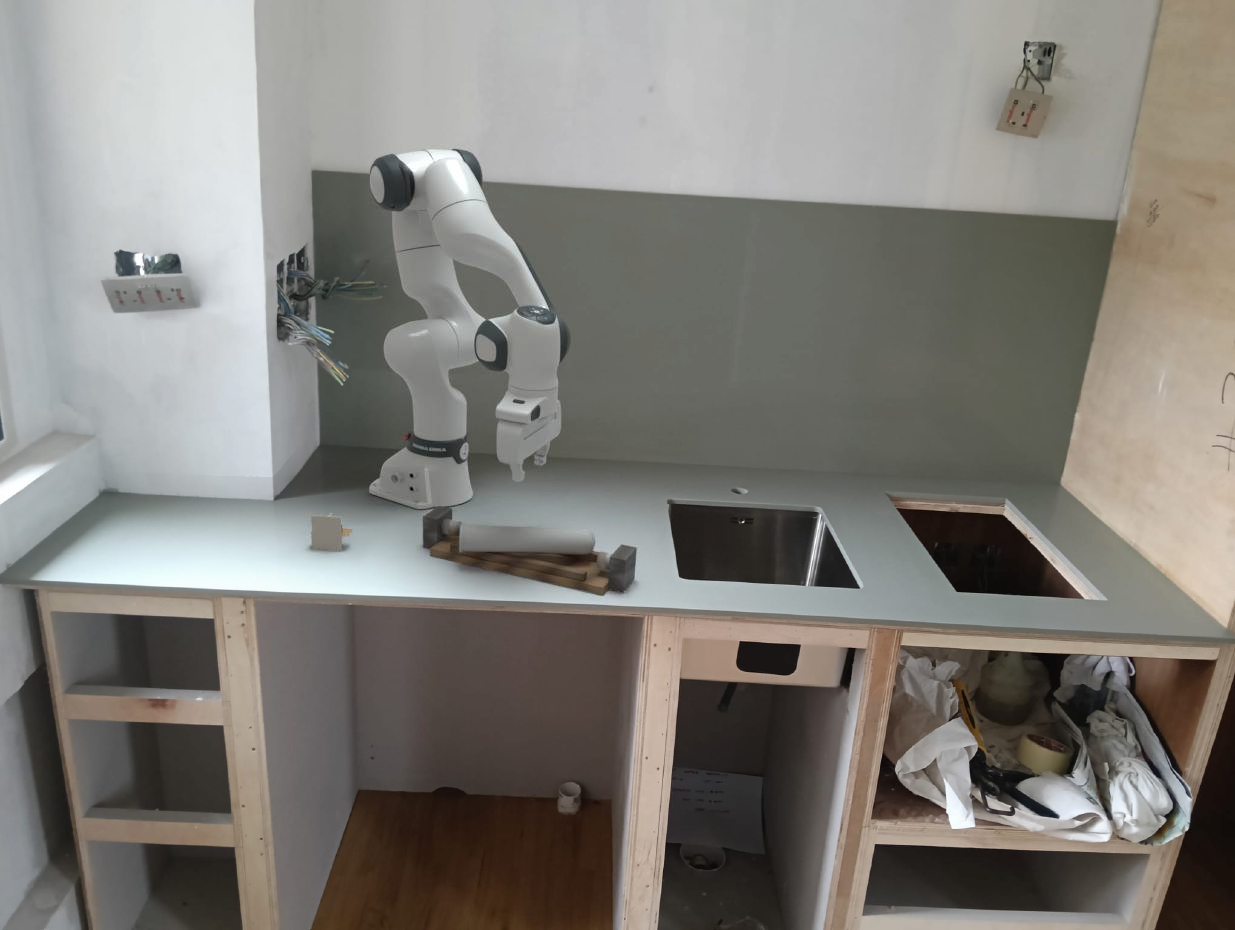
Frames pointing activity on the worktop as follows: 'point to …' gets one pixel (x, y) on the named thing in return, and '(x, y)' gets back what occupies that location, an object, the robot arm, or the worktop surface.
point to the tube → (526, 540)
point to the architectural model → (328, 533)
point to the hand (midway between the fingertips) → (529, 472)
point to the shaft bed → (534, 559)
